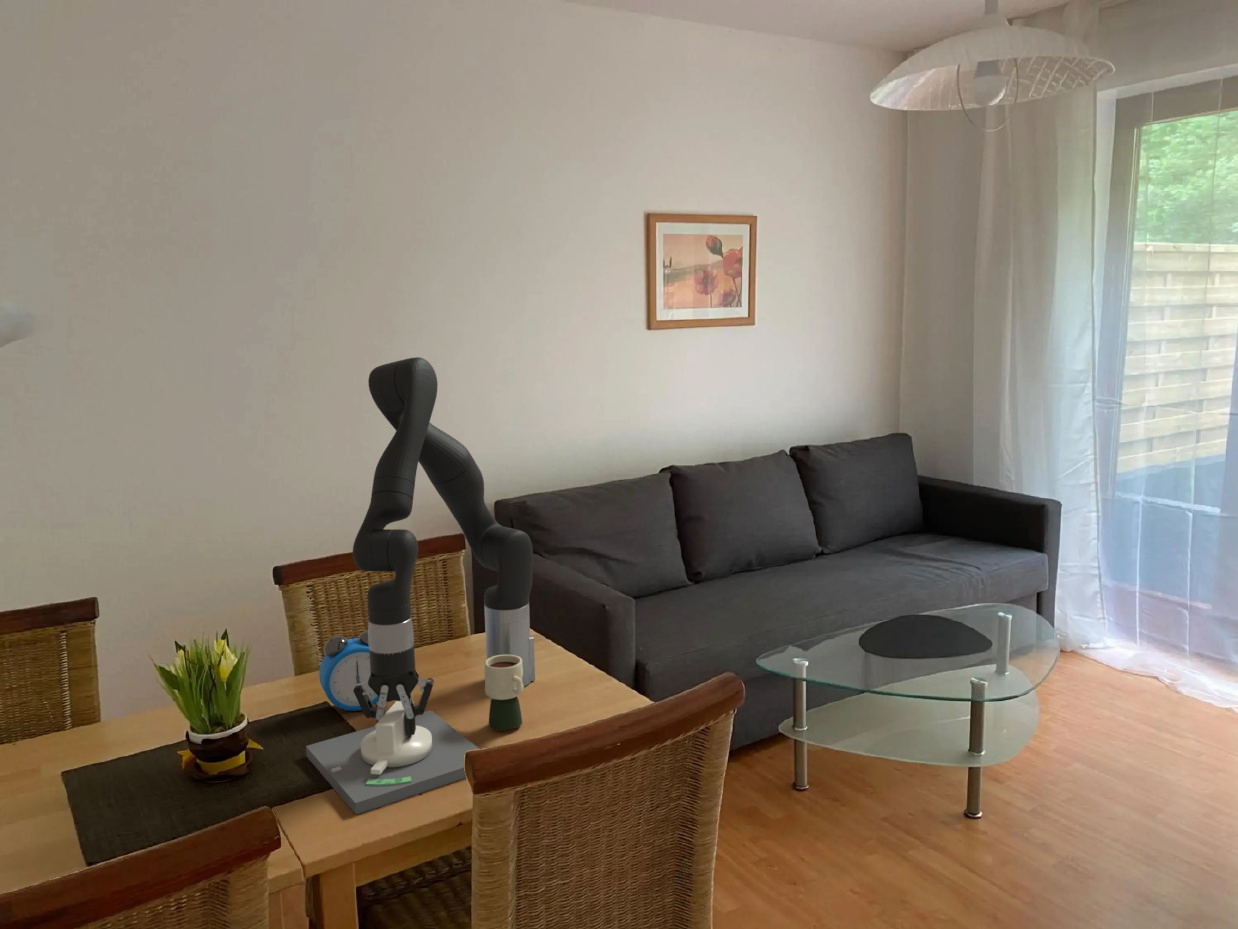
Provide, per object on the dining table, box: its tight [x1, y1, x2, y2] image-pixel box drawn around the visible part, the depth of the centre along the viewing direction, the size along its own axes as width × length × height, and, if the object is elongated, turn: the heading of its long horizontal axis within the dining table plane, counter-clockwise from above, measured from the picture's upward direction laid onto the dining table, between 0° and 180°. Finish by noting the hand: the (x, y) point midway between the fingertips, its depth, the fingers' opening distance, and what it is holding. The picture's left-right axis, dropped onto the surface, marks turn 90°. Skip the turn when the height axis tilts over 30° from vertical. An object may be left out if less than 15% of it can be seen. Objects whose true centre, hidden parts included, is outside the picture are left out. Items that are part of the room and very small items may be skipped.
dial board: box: [305, 710, 480, 815], centre depth 164 cm, size 24×24×2 cm
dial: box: [361, 701, 432, 775], centre depth 161 cm, size 16×12×7 cm
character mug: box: [484, 655, 525, 731], centre depth 177 cm, size 11×7×13 cm, turn 40°
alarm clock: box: [318, 630, 379, 714], centre depth 186 cm, size 13×6×15 cm, turn 117°
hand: (397, 736), depth 164 cm, fingers closed on dial, 3 cm apart
